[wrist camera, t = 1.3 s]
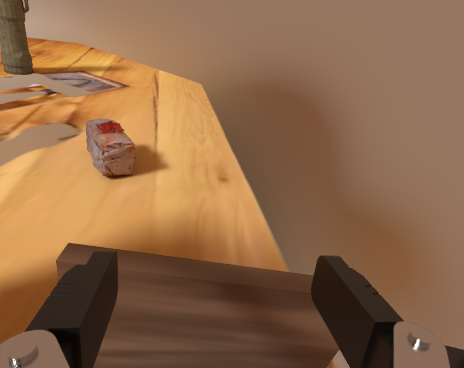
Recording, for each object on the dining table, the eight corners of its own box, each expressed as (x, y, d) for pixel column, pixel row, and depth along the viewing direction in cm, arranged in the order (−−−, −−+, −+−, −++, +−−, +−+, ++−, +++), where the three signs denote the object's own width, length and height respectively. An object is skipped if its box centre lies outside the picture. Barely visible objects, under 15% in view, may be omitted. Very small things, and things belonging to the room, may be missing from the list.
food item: (139, 177, 61) (141, 134, 56) (100, 183, 56) (98, 138, 51) (116, 149, 69) (116, 110, 64) (80, 153, 64) (77, 111, 59)
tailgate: (297, 407, 27) (374, 301, 19) (77, 390, 24) (56, 260, 16) (292, 382, 28) (361, 275, 20) (87, 364, 26) (73, 236, 18)
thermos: (39, 75, 104) (22, -42, 86) (-2, 73, 98) (-29, -55, 80) (37, 69, 110) (21, -42, 92) (-1, 66, 103) (-27, -54, 86)
